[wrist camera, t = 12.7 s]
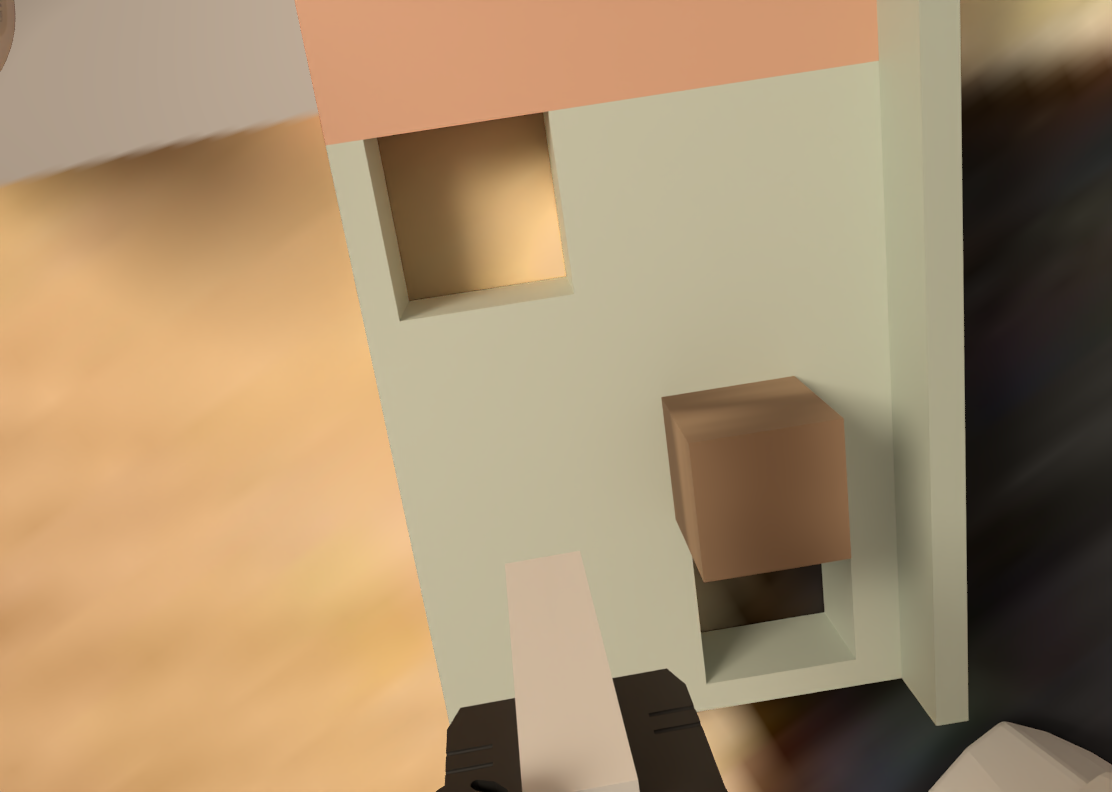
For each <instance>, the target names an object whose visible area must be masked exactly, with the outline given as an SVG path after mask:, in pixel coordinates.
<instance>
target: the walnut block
mask: <svg viewBox="0 0 1112 792" xmlns="http://www.w3.org/2000/svg"><path fill="white" fill-rule="evenodd" d="M661 399H662V408H663V416H664V425H665V433H666V442H667V450H668V459H669V467H670V476H671V484H672V493H673V501H674V510H675V519H676V521H677V524H678V526H679V528H680V530H681V533H682V535H683V537H684V539H685V542H686V544H687V546H688V548H689V550H690V553H691V555H692V557H693V559H694V562H695V564H696V566H697V568H698V570H699V573H700V575H701V577H702V579H703V582H704V583H705V582H711V581H717V580H723V579H729V578H736V577H742V576H748V575H754V574H760V573H766V572H772V571H778V570H785V569H791V568H797V567H803V566H809V565H815V564H821V563H827V562H833V561H840V560H846V559H851V542H850V524H849V506H848V487H847V469H846V450H845V432H844V418H843V417H842V416H840V415H839V414H838V413H837V412H836V411H835V410H833V409H832V408H831V407H830V406H829V405H828V404H826V403H825V402H824V401H823V400H822V399H821V398H820V397H818V396H817V395H816V394H815V393H814V392H813V391H811V390H810V389H809V388H808V387H807V386H806V385H804V384H803V383H802V382H801V381H800V380H799V379H797V378H796V377H795V376H790V377H784V378H778V379H772V380H765V381H759V382H753V383H746V384H740V385H734V386H728V387H721V388H715V389H709V390H703V391H696V392H690V393H684V394H678V395H671V396H665V397H661Z"/></svg>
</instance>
